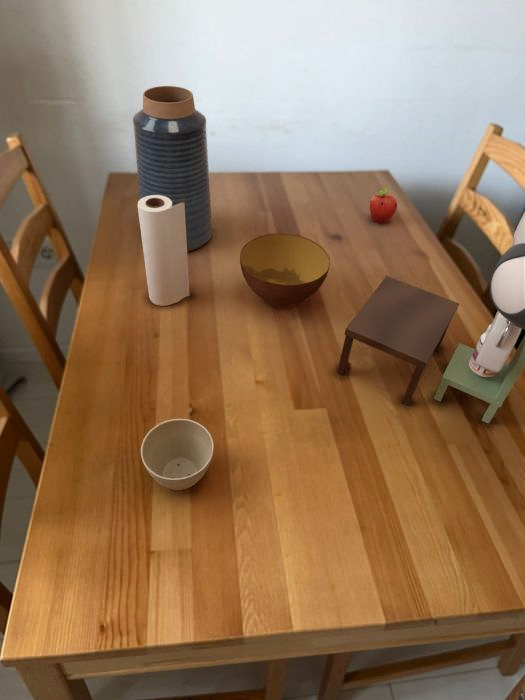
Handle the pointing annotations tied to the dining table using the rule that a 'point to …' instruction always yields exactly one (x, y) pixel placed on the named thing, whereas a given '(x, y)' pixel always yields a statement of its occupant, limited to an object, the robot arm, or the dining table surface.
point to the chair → (482, 378)
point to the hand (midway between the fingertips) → (489, 354)
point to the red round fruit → (382, 207)
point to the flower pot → (177, 453)
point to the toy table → (401, 326)
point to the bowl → (284, 268)
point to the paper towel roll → (164, 249)
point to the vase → (175, 156)
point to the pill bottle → (472, 361)
